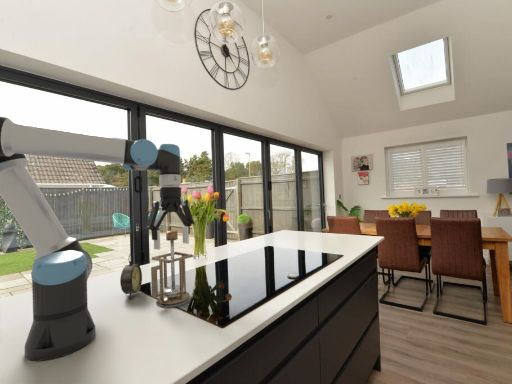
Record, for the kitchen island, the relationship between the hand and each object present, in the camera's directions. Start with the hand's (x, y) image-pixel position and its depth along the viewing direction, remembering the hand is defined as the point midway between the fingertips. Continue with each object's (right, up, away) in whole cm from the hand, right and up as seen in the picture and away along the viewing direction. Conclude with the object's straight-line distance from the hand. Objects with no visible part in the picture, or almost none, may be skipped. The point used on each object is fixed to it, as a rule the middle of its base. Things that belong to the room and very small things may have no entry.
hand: (172, 246), depth 97 cm
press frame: (+1, -20, 0) cm, 20 cm away
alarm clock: (-18, -21, +7) cm, 28 cm away
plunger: (+1, -17, 0) cm, 17 cm away
